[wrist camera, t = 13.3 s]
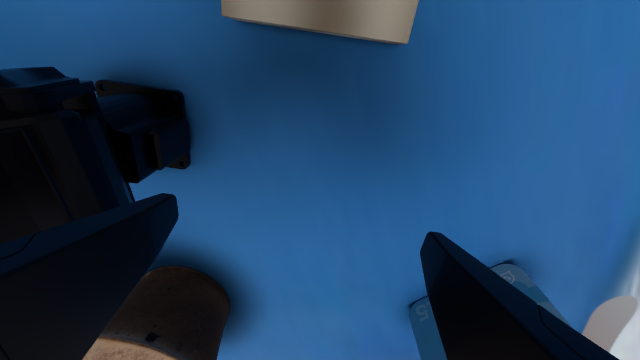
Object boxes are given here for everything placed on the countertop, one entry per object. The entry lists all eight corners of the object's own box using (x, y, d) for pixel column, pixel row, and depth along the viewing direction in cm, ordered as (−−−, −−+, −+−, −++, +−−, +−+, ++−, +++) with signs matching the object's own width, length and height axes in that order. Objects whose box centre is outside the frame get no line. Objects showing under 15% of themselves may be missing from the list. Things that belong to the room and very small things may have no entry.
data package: (512, 256, 26) (639, 404, 15) (529, 283, 27) (656, 436, 16) (405, 305, 30) (445, 450, 19) (425, 326, 31) (472, 473, 20)
